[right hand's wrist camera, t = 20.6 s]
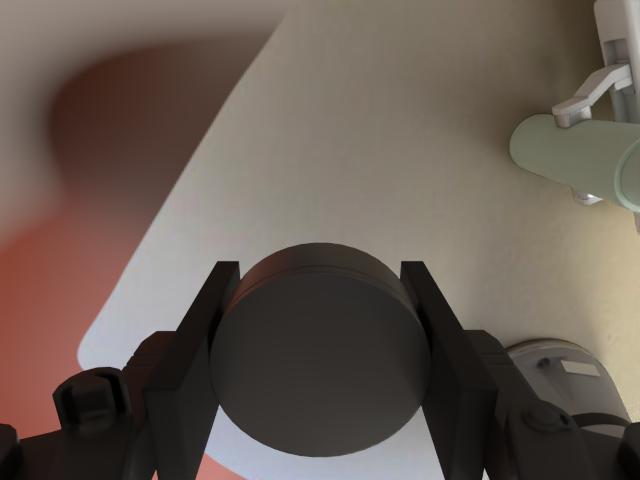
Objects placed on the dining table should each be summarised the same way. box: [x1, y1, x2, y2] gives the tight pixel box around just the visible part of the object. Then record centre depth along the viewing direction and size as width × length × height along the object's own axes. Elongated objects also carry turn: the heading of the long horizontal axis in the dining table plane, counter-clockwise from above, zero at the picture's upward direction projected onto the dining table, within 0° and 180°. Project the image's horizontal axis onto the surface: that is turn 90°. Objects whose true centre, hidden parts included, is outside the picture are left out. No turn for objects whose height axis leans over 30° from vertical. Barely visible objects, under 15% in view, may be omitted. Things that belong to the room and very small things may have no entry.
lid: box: [209, 243, 432, 457], centre depth 12 cm, size 6×6×2 cm
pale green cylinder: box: [509, 114, 640, 213], centre depth 29 cm, size 5×5×16 cm
